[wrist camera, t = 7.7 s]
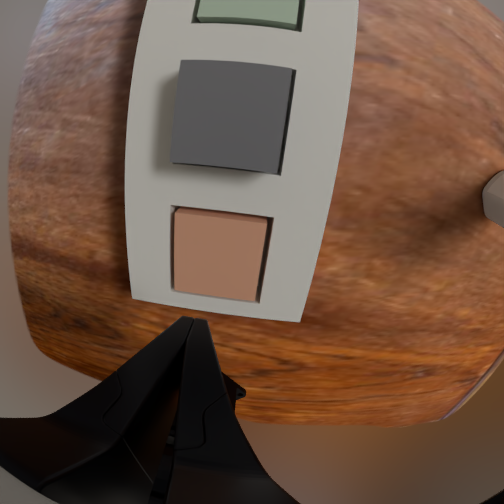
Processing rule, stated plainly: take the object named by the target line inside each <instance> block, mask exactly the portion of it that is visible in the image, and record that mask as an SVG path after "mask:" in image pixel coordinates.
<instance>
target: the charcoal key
mask: <svg viewBox="0 0 504 504" xmlns="http://www.w3.org/2000/svg"><path fill="white" fill-rule="evenodd" d="M291 75H292V68H287V67H281V66H274V65H266V64H258V63H248V62H237V61H221V60H181V62H180V68H179V75H178V82H177V90H176V98H175V106H174V115H173V125H172V136H171V148H170V162H174V163H187V164H200V165H210V166H220V167H230V168H238V169H247V170H255V171H262V172H269V173H276V174H277V171H278V164H279V157H280V151H281V144H282V137H283V131H284V124H285V117H286V110H287V103H288V96H289V89H290V82H291Z"/></svg>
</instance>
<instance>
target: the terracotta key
mask: <svg viewBox="0 0 504 504" xmlns="http://www.w3.org/2000/svg"><path fill="white" fill-rule="evenodd" d="M266 228H267V216H260V215H253V214H245V213H237V212H229V211H221V210H212V209H204V208H195V207H186V206H181V207H180V208H179V209H178V210H177V211H176V212H175V224H174V289H175V290H178V291H184V292H191V293H197V294H204V295H211V296H218V297H226V298H233V299H241V300H249V301H255V296H256V290H257V284H258V278H259V272H260V266H261V259H262V253H263V247H264V241H265V234H266Z"/></svg>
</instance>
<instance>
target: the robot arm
mask: <svg viewBox="0 0 504 504" xmlns="http://www.w3.org/2000/svg"><path fill="white" fill-rule="evenodd" d="M245 396H246V390H245V389H244V388H242V387H241V386H240V385H238V384H237V383H236V382H234V381H233V380H232V379H230V378H229V377H228V376H226V375H225V374H224V373H223V372H221V368H220V365H219V361H218V358H217V354H216V351H215V347H214V343H213V340H212V336H211V332H210V328H209V325H208V321H207V320H206V319H201V318H195V319H194V318H193V317H188V316H182V317H180V318H179V319H178V320H177V321H175V322H174V323H173V324H172V325H171V326H169V327H168V328H167V329H166V330H165V331H163V332H162V333H161V334H160V335H159V336H157V337H156V338H155V339H154V340H152V341H151V342H150V343H149V344H148V345H146V346H145V347H144V348H143V349H142V350H140V351H139V352H138V353H137V354H135V355H134V356H133V357H132V358H131V359H129V360H128V361H127V362H126V363H125V364H123V365H122V366H121V367H120V368H118V369H117V372H116V371H115V372H113V373H112V374H111V375H110V376H109V377H107V378H106V379H105V380H103V381H102V382H101V383H99V384H98V385H97V386H95V387H94V388H92V389H91V390H89V391H88V392H87V393H85V394H84V395H82V396H81V397H79V398H77V399H75V400H74V401H72V402H71V403H69V404H67V405H66V406H64V407H62V408H61V409H59V410H57V411H56V412H54V413H52V414H50V415H47V416H43V417H38V418H0V504H300V503H299V502H298V501H296V500H295V499H294V498H293V497H292V496H291V495H289V494H288V493H287V492H286V491H285V490H284V489H283V488H281V487H280V486H279V485H278V484H277V483H276V482H275V481H274V480H273V479H272V478H271V477H270V476H269V475H268V473H267V472H266V471H265V469H264V468H263V466H262V465H261V463H260V461H259V460H258V458H257V456H256V455H255V453H254V451H253V449H252V447H251V446H250V444H249V442H248V440H247V438H246V436H245V434H244V433H243V431H242V429H241V426H240V424H239V422H238V420H237V418H236V415H235V403H236V400H238V399H240V398H243V397H245ZM479 504H504V489H503V490H502V491H500V492H498V493H497V494H495V495H493V496H492V497H490V498H488V499H487V500H485V501H483V502H481V503H479Z"/></svg>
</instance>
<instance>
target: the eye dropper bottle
mask: <svg viewBox="0 0 504 504" xmlns="http://www.w3.org/2000/svg"><path fill="white" fill-rule="evenodd" d="M482 198H483V207H484V213H485V216H486V217H487V218H488V219H490V220H492V221H493V222H495V223H496V224H498V225H500V226H501V227H503V228H504V170H503V171H501V172H499V173H498V174H496V175H495V176H494V177H493V178H492V179H491V180H490V181H489V182H488V183H487V185H486V186H485V187H484V189H483V192H482Z"/></svg>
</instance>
